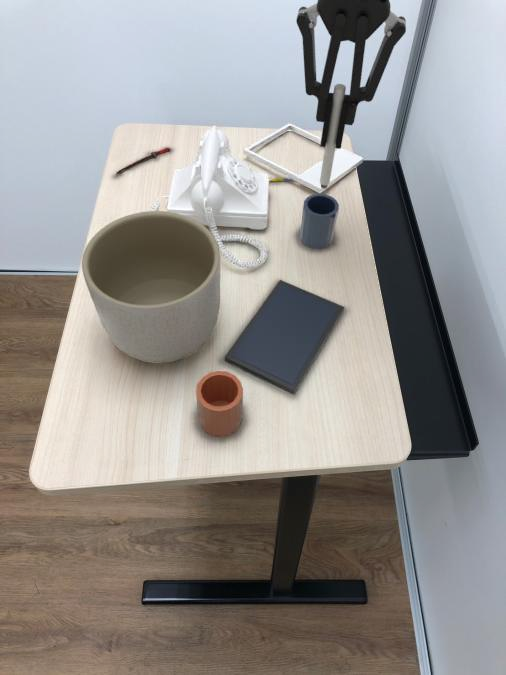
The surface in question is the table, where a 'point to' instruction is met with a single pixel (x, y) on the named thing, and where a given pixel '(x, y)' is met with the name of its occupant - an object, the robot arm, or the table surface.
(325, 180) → the stylus
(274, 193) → the table surface
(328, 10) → the robot arm
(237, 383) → the cup
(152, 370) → the table surface
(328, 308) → the tablet
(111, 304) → the planter
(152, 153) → the katana
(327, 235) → the holder
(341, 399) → the table surface
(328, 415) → the table surface
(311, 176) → the photo frame
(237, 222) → the telephone
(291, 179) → the pen
